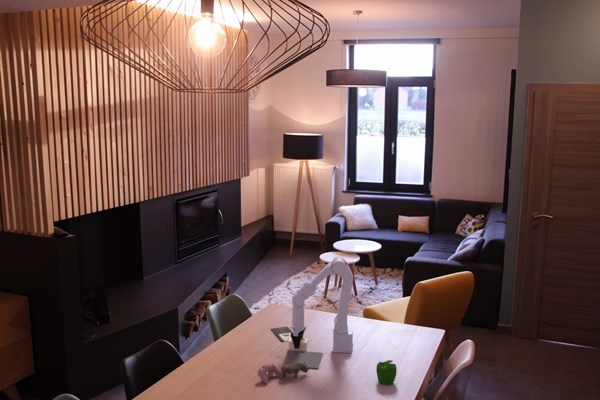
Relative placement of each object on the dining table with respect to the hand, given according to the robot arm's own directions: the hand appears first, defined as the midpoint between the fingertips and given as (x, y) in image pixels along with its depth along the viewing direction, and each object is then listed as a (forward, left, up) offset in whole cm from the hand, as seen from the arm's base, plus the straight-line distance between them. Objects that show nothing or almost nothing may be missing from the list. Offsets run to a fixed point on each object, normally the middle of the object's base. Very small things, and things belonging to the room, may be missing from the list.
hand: (298, 345), depth 269 cm
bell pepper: (-42, +28, -2) cm, 51 cm away
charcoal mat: (-5, +12, -2) cm, 14 cm away
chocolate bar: (+10, -16, -2) cm, 19 cm away
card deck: (0, 0, -2) cm, 2 cm away
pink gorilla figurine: (+6, +34, -2) cm, 34 cm away
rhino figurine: (-4, +30, -2) cm, 30 cm away
